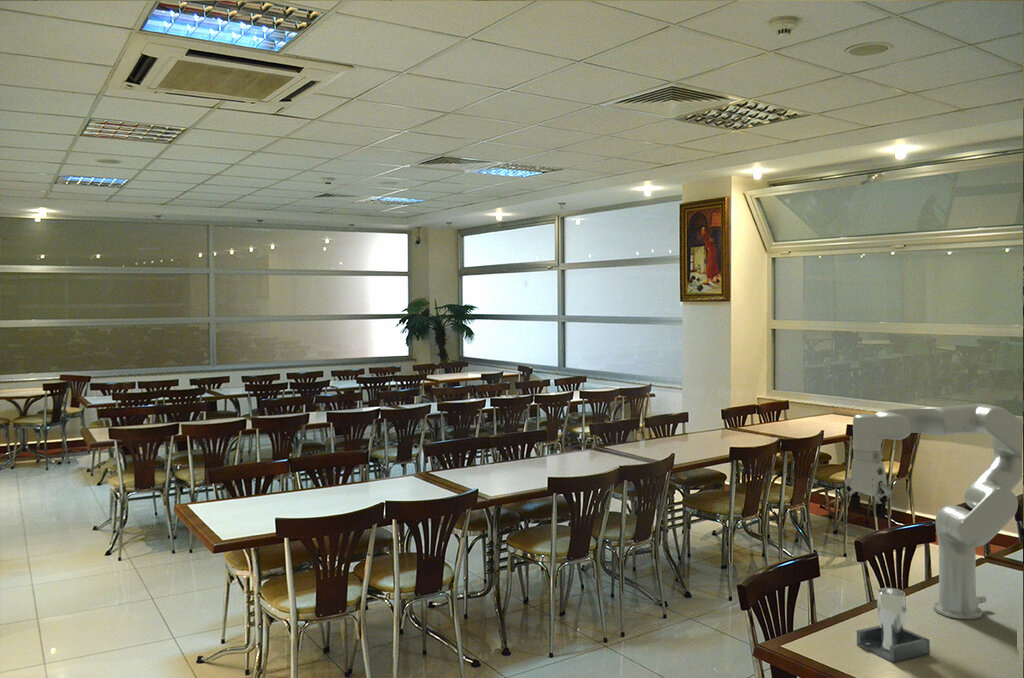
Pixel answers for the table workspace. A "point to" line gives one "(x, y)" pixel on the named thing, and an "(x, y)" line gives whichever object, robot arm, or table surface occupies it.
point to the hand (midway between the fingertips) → (867, 512)
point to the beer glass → (891, 616)
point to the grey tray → (898, 653)
